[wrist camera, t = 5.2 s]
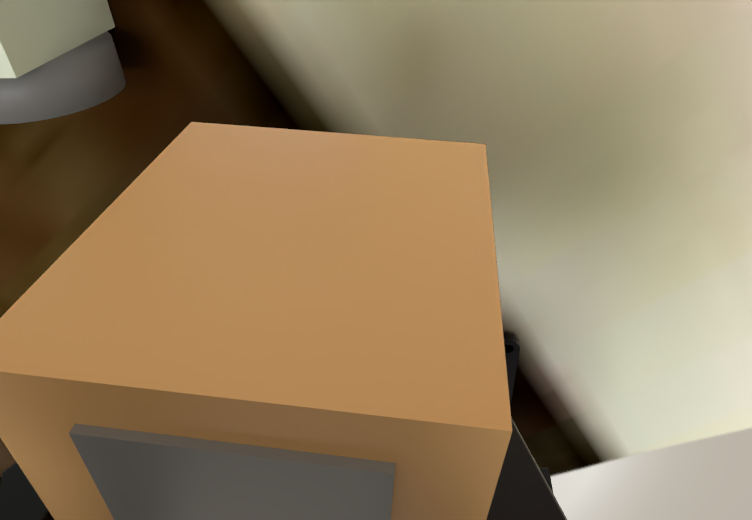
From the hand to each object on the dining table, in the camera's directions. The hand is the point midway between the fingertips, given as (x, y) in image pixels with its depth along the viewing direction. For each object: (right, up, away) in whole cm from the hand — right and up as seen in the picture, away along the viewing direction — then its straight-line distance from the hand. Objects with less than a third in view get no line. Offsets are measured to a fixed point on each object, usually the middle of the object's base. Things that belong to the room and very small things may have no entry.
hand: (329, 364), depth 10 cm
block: (0, +1, +1) cm, 1 cm away
